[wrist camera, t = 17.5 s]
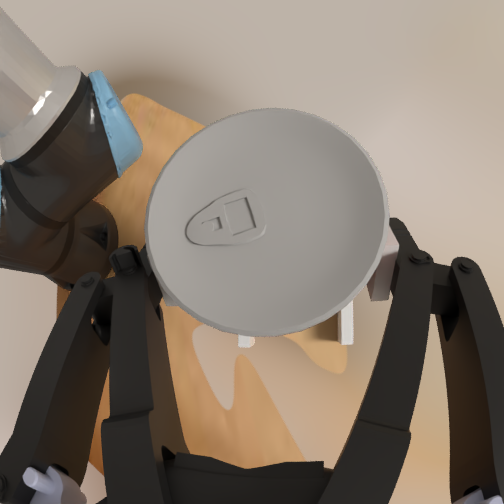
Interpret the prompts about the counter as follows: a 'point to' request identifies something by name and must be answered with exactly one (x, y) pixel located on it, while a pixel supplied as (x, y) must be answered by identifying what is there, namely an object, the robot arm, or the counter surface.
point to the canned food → (267, 222)
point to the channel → (343, 328)
